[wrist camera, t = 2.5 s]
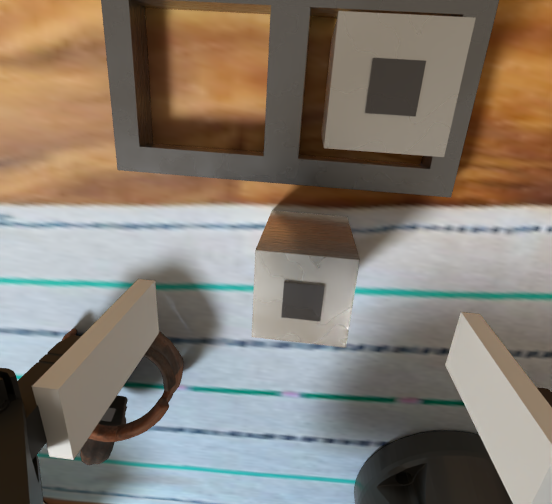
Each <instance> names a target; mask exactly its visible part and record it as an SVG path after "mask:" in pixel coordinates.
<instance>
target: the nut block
mask: <svg viewBox="0 0 552 504" xmlns="http://www.w3.org/2000/svg"><path fill="white" fill-rule="evenodd" d="M359 262H360V259H359V256H358V252H357V249H356V245H355V242H354V239H353V235H352V232H351V228H350V225H349V221H348V218H347V217H346V216H334V215H323V214H311V213H300V212H288V211H277V210H272V212H271V214H270V217H269V219H268V222H267V224H266V226H265V229H264V231H263V234H262V236H261V238H260V241H259V243H258V246H257V248H256V251H255V274H254V296H253V318H252V337H256V338H265V339H274V340H283V341H292V342H301V343H310V344H319V345H328V346H337V347H346V343H347V337H348V331H349V325H350V318H351V312H352V306H353V300H354V293H355V287H356V281H357V274H358V268H359Z"/></svg>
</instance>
